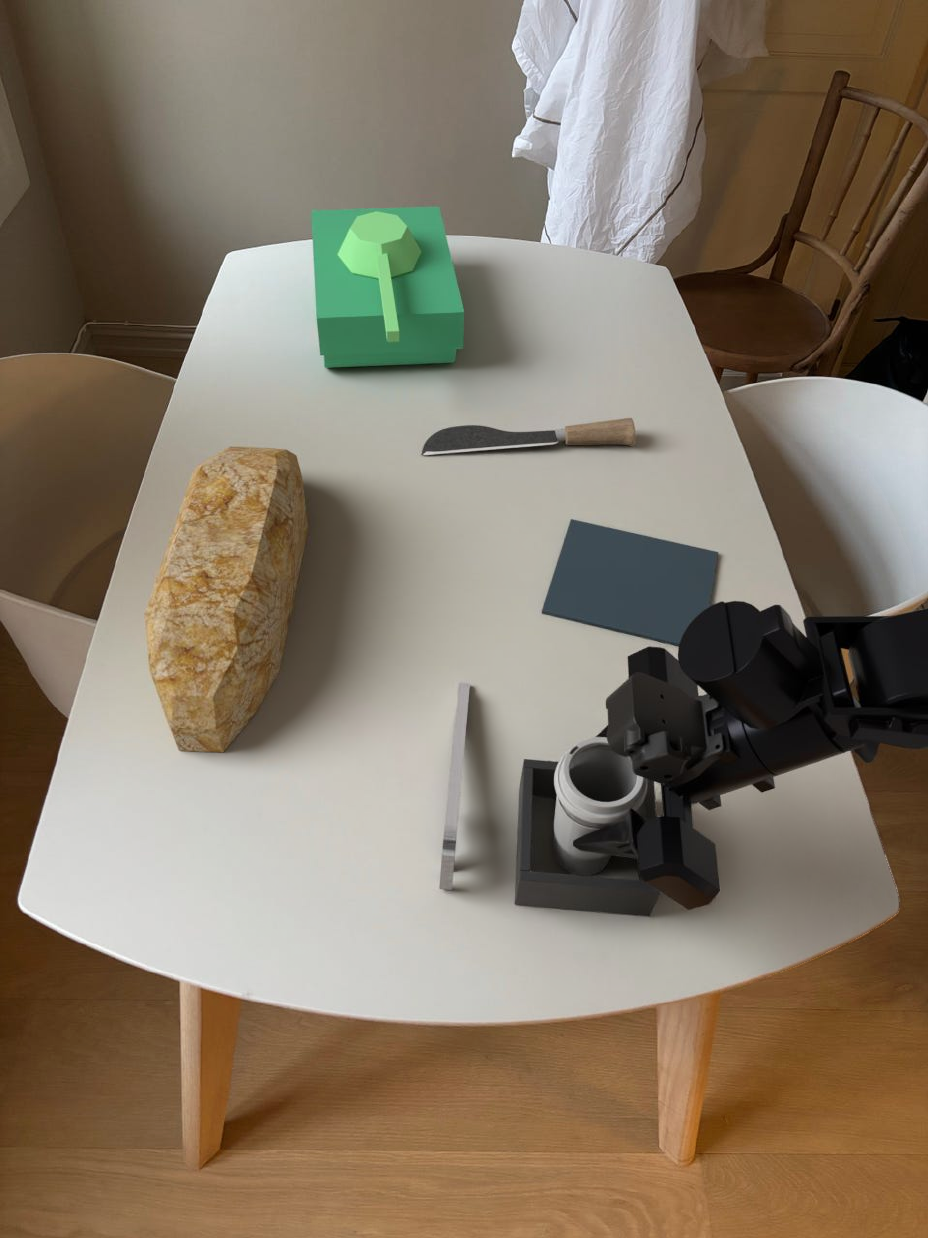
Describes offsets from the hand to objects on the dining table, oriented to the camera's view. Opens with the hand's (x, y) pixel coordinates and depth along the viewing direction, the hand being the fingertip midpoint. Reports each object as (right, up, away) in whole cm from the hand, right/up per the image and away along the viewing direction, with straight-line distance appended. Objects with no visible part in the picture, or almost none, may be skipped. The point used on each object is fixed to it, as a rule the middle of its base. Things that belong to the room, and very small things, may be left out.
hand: (575, 803), depth 71 cm
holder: (+1, -5, +5) cm, 7 cm away
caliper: (-9, 0, +9) cm, 13 cm away
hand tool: (-1, +35, +40) cm, 53 cm away
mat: (+9, +18, +25) cm, 32 cm away
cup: (+1, -5, +6) cm, 7 cm away
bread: (-31, +16, +22) cm, 41 cm away
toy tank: (-19, +52, +54) cm, 77 cm away
